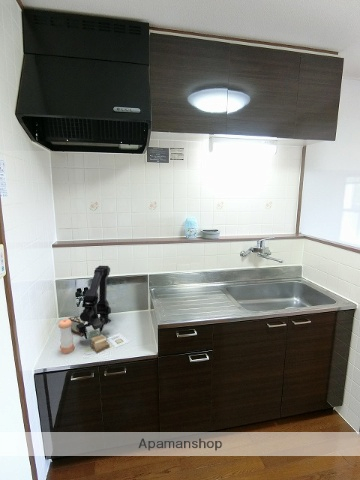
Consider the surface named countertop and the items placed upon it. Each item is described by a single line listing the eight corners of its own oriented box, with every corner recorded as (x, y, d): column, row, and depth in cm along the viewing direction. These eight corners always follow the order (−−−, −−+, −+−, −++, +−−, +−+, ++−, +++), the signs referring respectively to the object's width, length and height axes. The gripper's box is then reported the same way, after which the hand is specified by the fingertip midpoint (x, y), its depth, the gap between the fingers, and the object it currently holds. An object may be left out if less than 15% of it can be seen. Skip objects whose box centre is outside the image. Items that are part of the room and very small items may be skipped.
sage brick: (88, 337, 156) (88, 332, 155) (95, 335, 159) (95, 329, 158) (91, 341, 153) (91, 335, 152) (98, 338, 156) (98, 332, 155)
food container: (90, 332, 162) (89, 317, 160) (83, 337, 156) (82, 322, 154) (76, 327, 167) (75, 313, 165) (68, 332, 162) (67, 318, 159)
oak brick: (91, 343, 147) (91, 338, 146) (102, 339, 151) (102, 334, 150) (95, 349, 142) (95, 343, 141) (106, 344, 146) (106, 339, 145)
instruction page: (106, 338, 155) (106, 338, 155) (119, 333, 161) (119, 332, 161) (115, 347, 146) (115, 347, 146) (129, 341, 152) (129, 341, 152)
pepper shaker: (70, 344, 149) (67, 314, 145) (76, 349, 145) (74, 319, 141) (58, 350, 144) (55, 319, 140) (64, 355, 139) (61, 324, 135)
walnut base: (90, 347, 147) (90, 343, 147) (103, 341, 153) (102, 338, 152) (96, 354, 142) (96, 350, 141) (109, 348, 147) (109, 344, 147)
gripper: (81, 323, 140) (83, 348, 144) (112, 312, 153) (113, 335, 156) (74, 316, 148) (76, 339, 152) (104, 306, 161) (105, 328, 164)
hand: (93, 335), depth 156 cm, fingers open, 9 cm apart
